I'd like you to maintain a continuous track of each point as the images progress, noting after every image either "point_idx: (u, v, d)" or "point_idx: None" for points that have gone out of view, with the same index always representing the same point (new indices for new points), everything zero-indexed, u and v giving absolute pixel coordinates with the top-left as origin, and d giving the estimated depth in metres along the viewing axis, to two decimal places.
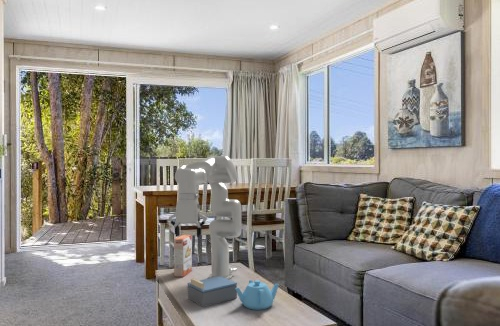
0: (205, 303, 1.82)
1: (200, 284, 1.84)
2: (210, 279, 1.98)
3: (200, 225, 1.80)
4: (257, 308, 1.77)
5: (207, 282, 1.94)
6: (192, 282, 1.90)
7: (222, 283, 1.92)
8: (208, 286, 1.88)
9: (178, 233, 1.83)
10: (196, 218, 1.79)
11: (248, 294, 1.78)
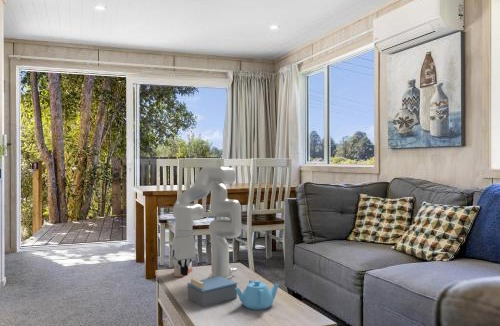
0: (205, 303, 1.82)
1: (200, 284, 1.84)
2: (210, 279, 1.98)
3: (188, 264, 1.84)
4: (257, 308, 1.77)
5: (207, 282, 1.94)
6: (192, 282, 1.90)
7: (222, 283, 1.92)
8: (208, 286, 1.88)
9: None
10: (195, 253, 1.85)
11: (248, 294, 1.78)
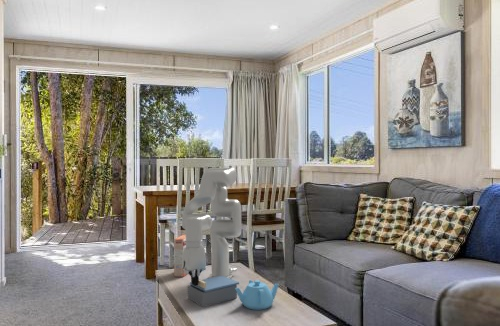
0: (205, 303, 1.82)
1: (202, 283, 1.85)
2: (212, 279, 1.99)
3: None
4: (257, 308, 1.77)
5: (209, 281, 1.95)
6: None
7: (224, 282, 1.92)
8: (211, 285, 1.89)
9: None
10: (205, 263, 1.88)
11: (248, 294, 1.78)
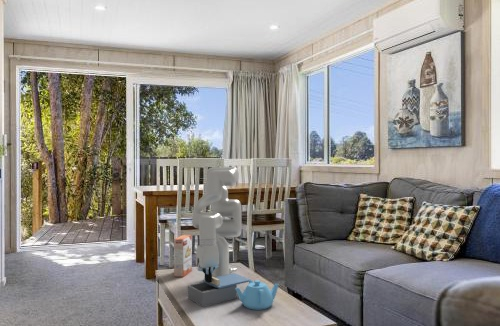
0: (205, 303, 1.82)
1: (216, 281, 1.89)
2: (224, 276, 2.03)
3: (212, 272, 1.92)
4: (257, 308, 1.77)
5: (222, 278, 1.99)
6: None
7: (237, 280, 1.96)
8: (223, 282, 1.93)
9: None
10: (218, 260, 1.92)
11: (248, 294, 1.78)
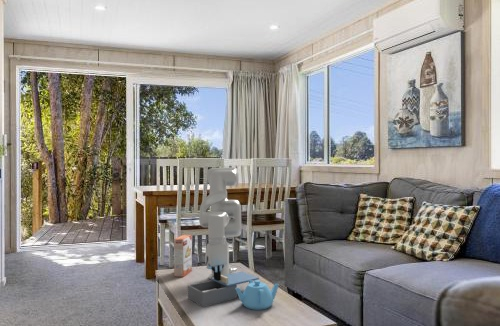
0: (205, 303, 1.82)
1: (225, 279, 1.92)
2: (233, 274, 2.06)
3: None
4: (257, 308, 1.77)
5: (230, 277, 2.02)
6: None
7: (245, 278, 1.99)
8: (232, 280, 1.96)
9: None
10: (227, 259, 1.95)
11: (248, 294, 1.78)
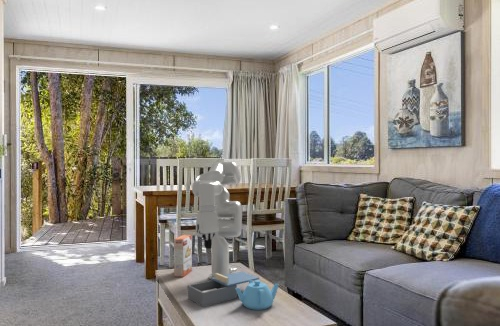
0: (205, 303, 1.82)
1: (225, 278, 1.92)
2: (233, 274, 2.06)
3: None
4: (257, 308, 1.77)
5: (230, 276, 2.02)
6: (216, 277, 1.98)
7: (245, 278, 1.99)
8: (232, 280, 1.96)
9: None
10: (218, 227, 1.95)
11: (248, 294, 1.78)
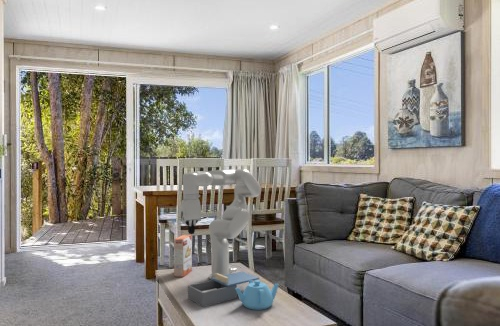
0: (205, 303, 1.82)
1: (225, 278, 1.92)
2: (233, 274, 2.06)
3: (195, 224, 2.10)
4: (257, 308, 1.77)
5: (230, 276, 2.02)
6: (216, 277, 1.98)
7: (245, 278, 1.99)
8: (232, 280, 1.96)
9: None
10: (200, 214, 2.11)
11: (248, 294, 1.78)
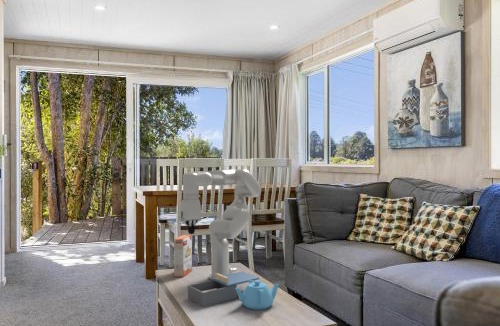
0: (205, 303, 1.82)
1: (225, 278, 1.92)
2: (233, 274, 2.06)
3: (195, 224, 2.10)
4: (257, 308, 1.77)
5: (230, 276, 2.02)
6: (216, 277, 1.98)
7: (245, 278, 1.99)
8: (232, 280, 1.96)
9: None
10: (200, 214, 2.11)
11: (248, 294, 1.78)
